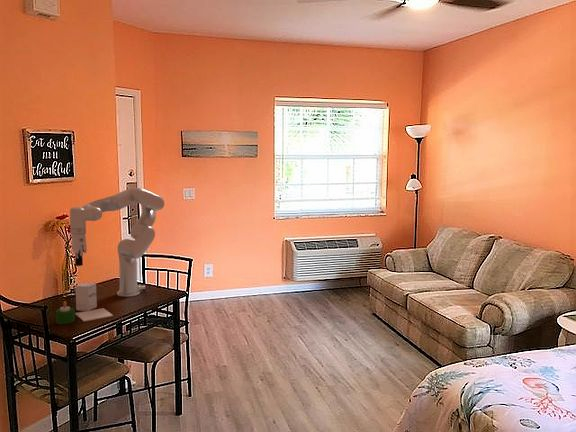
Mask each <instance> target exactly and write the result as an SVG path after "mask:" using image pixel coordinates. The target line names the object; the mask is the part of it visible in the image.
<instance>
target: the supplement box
mask: <svg viewBox="0 0 576 432" xmlns="http://www.w3.org/2000/svg"><path fill="white" fill-rule="evenodd" d="M97 302H98V301H97V283H81V284H79V285H75V304H76V305H75V308H76V310H75V311H80V312H84V311H90V310H95V309H96V308H97V307H98V303H97Z"/></svg>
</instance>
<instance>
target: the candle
mask: <svg viewBox="0 0 576 432" xmlns="http://www.w3.org/2000/svg"><path fill="white" fill-rule="evenodd" d="M67 304H68V302H67V301H66V300H65V301H63V302H62V305H63V306H61V307H60V308H57V309H56V310H55V323H56V324H58V325H69V324H71V323H72V324H73V323H74V322H75V321H76V314H75V313H76V312H75V311H76V310H75V308H73V307H70V306H69V305H68V306H67Z"/></svg>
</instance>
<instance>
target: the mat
mask: <svg viewBox="0 0 576 432" xmlns="http://www.w3.org/2000/svg"><path fill="white" fill-rule="evenodd" d="M75 316H76V317H78V318H79V319H80V320H81V321H82V322H88V321H93V320H99V319H105V318H110V317H113V316H114V315H113V314H112V313H111V312H109V311H108V310H107V309H106V308H104V307H102V308H97V309H96V308H95V309H91V310H89V311H80V312H75Z"/></svg>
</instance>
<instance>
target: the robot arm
mask: <svg viewBox="0 0 576 432" xmlns="http://www.w3.org/2000/svg"><path fill="white" fill-rule="evenodd" d="M134 204H140V206H141V215H140V216H139V218H138V219H137V221H136V222H135V223H134V224H133V227H132V228H131V230H130V232H129V233H130V234H129V235H130V237H131V239H130V238H125V239H122V240H121V241H119V242H118V245H117V254H118V263H119V290H118V291H117V292H116V295H117V296H118V297H124V298H126V297H136V296H138V295H140V293H141V290H145V289H146V285H145V284H143V285H138V262H137V259H140V258H141V257H142V256H144V255H145V253H146V251H147V250H148V249H149V248H150V245H152V243H153V242H154V239H155V238H156V237H155V236H156V231H155V229H154V227H153V225H154V224H155V221H156V219H157V212H156V211H161V210H163V208H164V206H165V200H164V198H163V197H162V196H160V195H157V194H155V193H153V192H151V191H148V190H146V189H144V188H141V187H130V188H127V189H125V190H122V191H120V192H118V193H116V194H114V195H113V194H112V195H110V196H107V197H103V198H99V199H97V200H93V201H90V202H89V203H86V204H84V205H82V207H81V206H79V207H78V206H77V207H75V206H74V207H70V209H69V224H70V225H69V226H70V227H69V230H70V232H69V233H70V235H71V250H72V251H73V252H74V257H75V258H74V262H75V263H74V264H75V265H74V266H76V267H81V266H84V265H83V259H84V258H83V257H84V254H86V253H87V250H88V249H87V237H86V235H87V222H88V221H90V222H96V221H100V220H101V218H102V217H103V213H105V212H115V211H116V212H117V211H121V210H122V209H124V208H126V207H129V206H131V205H134Z"/></svg>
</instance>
